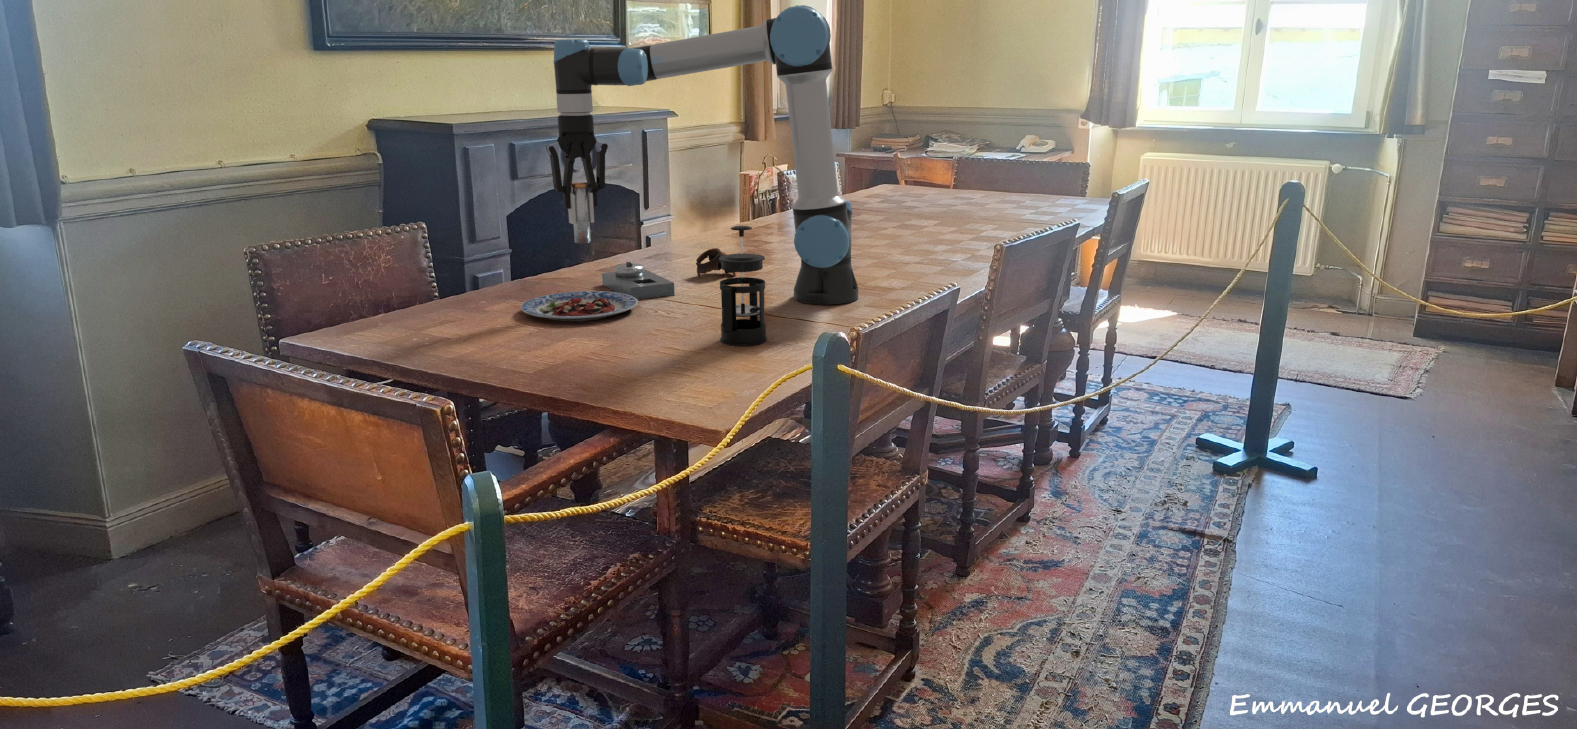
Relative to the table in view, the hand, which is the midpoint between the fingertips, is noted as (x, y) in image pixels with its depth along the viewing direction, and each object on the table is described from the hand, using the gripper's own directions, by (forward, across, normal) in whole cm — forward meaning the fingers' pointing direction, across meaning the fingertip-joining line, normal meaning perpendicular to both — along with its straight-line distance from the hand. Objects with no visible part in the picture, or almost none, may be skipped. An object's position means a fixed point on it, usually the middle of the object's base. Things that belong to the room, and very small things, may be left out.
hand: (581, 222), depth 240 cm
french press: (+20, -18, +43) cm, 51 cm away
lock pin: (+4, 0, 0) cm, 4 cm away
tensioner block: (+20, -17, -13) cm, 29 cm away
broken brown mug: (+20, -41, -19) cm, 49 cm away
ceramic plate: (+20, +2, +2) cm, 20 cm away
